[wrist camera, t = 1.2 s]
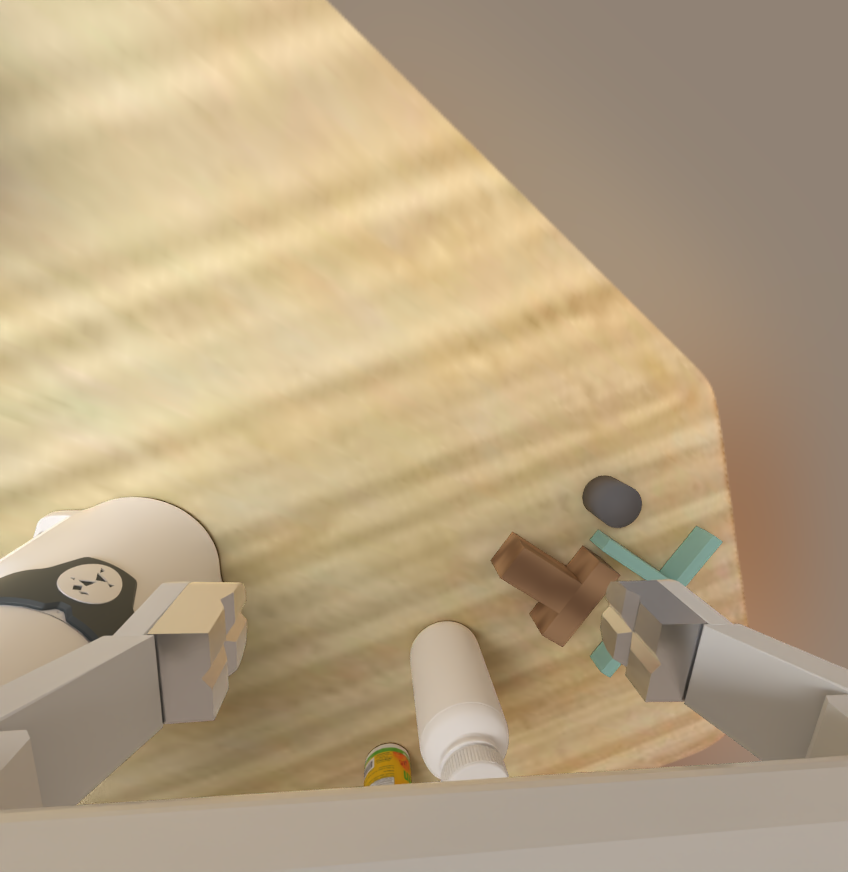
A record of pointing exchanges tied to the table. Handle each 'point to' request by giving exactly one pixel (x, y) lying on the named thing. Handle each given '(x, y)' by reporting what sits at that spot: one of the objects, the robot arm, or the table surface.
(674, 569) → the rail
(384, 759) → the supplement bottle
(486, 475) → the table surface
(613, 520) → the grey rounded lump
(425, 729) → the pill bottle
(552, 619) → the t block
